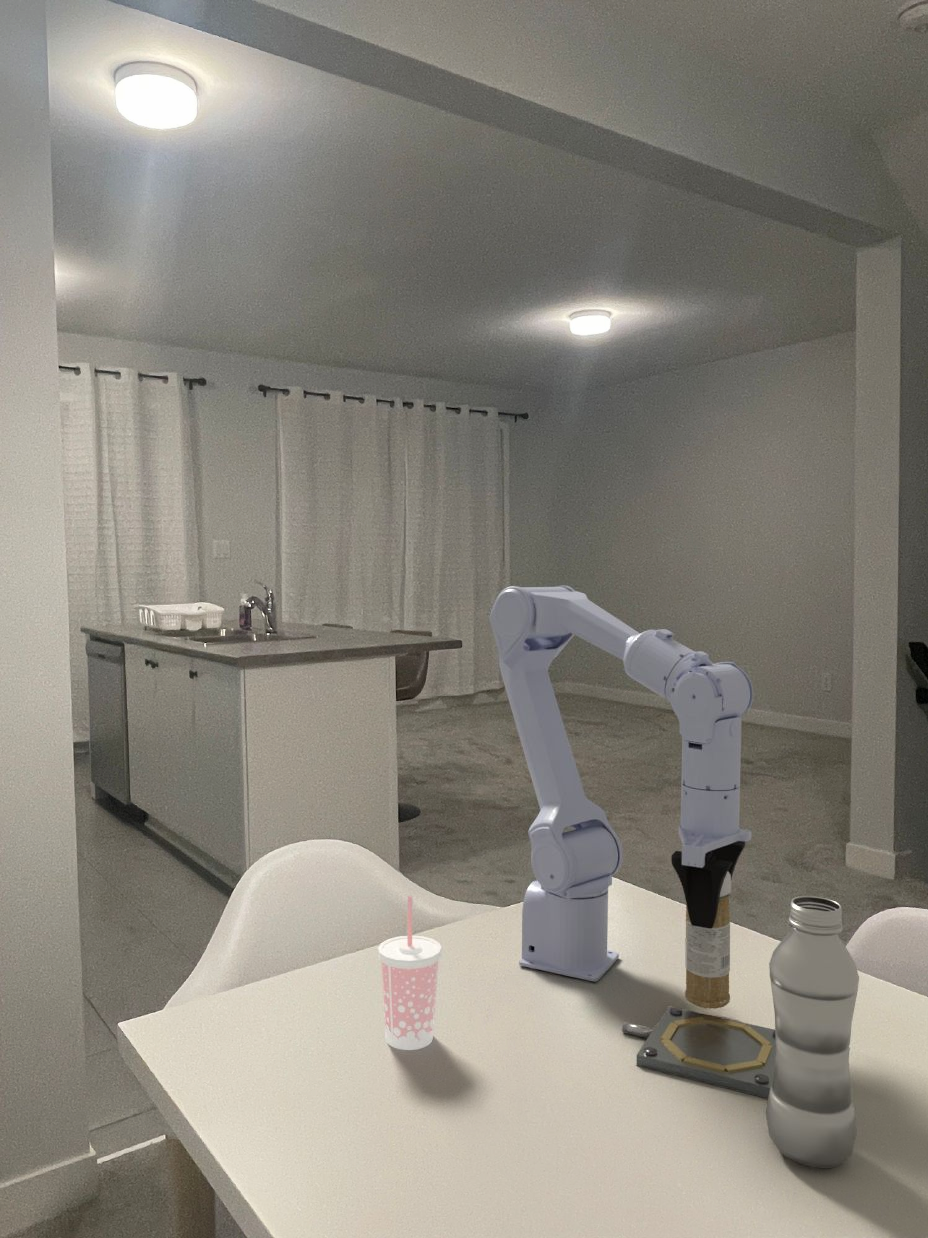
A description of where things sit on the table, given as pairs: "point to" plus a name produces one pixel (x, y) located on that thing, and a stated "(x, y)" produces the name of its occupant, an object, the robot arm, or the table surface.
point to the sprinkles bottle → (709, 957)
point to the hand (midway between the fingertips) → (707, 918)
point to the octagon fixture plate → (709, 1050)
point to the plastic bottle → (813, 1037)
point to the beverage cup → (409, 987)
